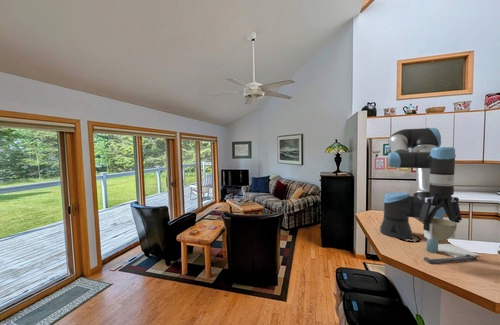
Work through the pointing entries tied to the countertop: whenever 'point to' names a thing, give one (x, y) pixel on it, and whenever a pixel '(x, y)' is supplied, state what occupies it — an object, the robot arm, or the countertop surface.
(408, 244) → the countertop surface
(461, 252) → the coaster
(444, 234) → the beige bowl
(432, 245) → the dowel
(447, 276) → the countertop surface
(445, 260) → the rail
